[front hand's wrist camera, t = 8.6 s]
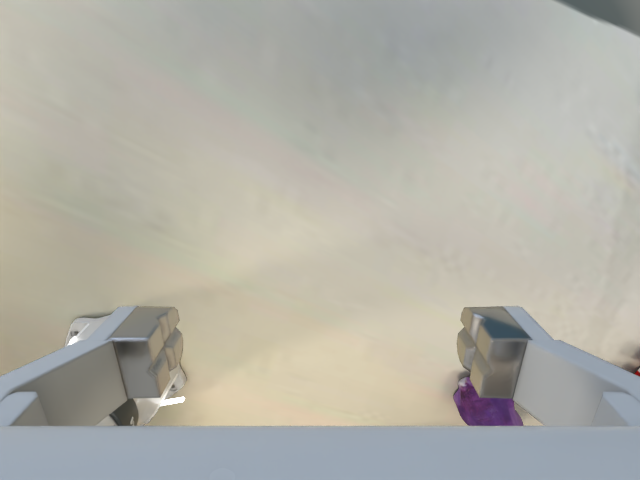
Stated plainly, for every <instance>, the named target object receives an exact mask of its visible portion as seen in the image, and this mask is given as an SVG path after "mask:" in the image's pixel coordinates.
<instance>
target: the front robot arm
mask: <svg viewBox="0 0 640 480" xmlns="http://www.w3.org/2000/svg"><path fill="white" fill-rule="evenodd" d="M178 322H179V315H178V310H177V309H176V308H175V307H155V306H122V307H118V308H117V309H116V310H115V311H114V312H113V313H112V314H111V315H108V316H104V317H101V318H77V319H75V320H74V322H73V323H72V324H71V326H70V329H69V332H68V335H67V339H66V342H65V345H64V348H62V349H60V350H57V351H55V352H53V353H51V354H49V355H46V356H44V357H42V358H40V359H38V360H35V361H33V362H31V363H29V364H27V365H24V366H22V367H20V368H18V369H16V370H13V371H11V372H9V373H7V374H5V375H2V376H0V480H640V376H637V375H635V374H633V373H631V372H629V371H626V370H624V369H622V368H620V367H618V366H615V365H613V364H611V363H609V362H607V361H605V360H602V359H600V358H598V357H596V356H594V355H591V354H589V353H587V352H585V351H583V350H580V349H578V348H576V347H574V346H572V345H569V344H567V343H565V342H563V341H561V340H554V339H553V338H552V337H551V336H550V335H549V334H548V333H547V332H546V331H545V330H544V329H543V328H542V327H541V326H540V325H539V324H538V323H537V322H536V321H535V320H534V319H533V318H532V317H531V316H530V315H529V314H528V313H527V312H526V311H525V310H524V309H523V308H522V307H519V306H500V307H465V308H464V309H463V311H462V314H461V322H462V324H463V325H464V328H463V329H462V330H461V331H460V332H459V333H458V338H457V351H458V356H459V359H460V362H461V364H462V366H463V367H464V368H465V369H467V370H468V371H470V372H471V373H470V381H471V383H472V384H473V386H474V388H475V390H476V392H477V394H478V395H479V397H480V398H508V399H513V401H514V402H516V403H517V404H518V405H519V406H521V407H522V408H523V409H524V410H526V411H527V412H528V413H529V414H531V415H532V416H533V417H534V418H536V419H537V420H538V421H539V422H541V423H542V424H543V425H544V426H144V425H145V424H148V423H149V422H150V420H151V419H152V418H153V417H154V415H155V414H156V412H157V411H158V409H159V407H160V406H162V405H168V404H174V403H179V402H183V401H184V399H185V398H184V397H180V398H174V399H169V400H166V399H168V398H169V397H170V396H172V395H173V394H174V393H176V392H177V391H178V390H180V389H181V388H182V387H183V386H184V385H185V383H186V381H187V379H186V376H185V374H184V372H183V370H182V369H181V367H180V363H179V362H180V360H181V356H182V351H183V337H182V333H181V332H180V331H179V330H178V329H177V328H176V325H177V324H178Z"/></svg>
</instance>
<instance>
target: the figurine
mask: <svg viewBox="0 0 640 480" xmlns="http://www.w3.org/2000/svg"><path fill="white" fill-rule="evenodd" d="M458 386H459V388H458V390H457V392H456V393H455V394H454V397H453V398H454V401H455V403H456V405H457V408H458V411H459V413H460V416H461V417H462V419H463V420H464V421H465V423H466V424H467V425H469V426H523V422H522V420H521V418H520V416H519V414H518V413H517V412H516V410H515V409H514V401H513V399H508V398H480V397H479V395H478V394H477V392H476V390H475V388H474V386H473V384H472V383H471V381H470V377H464V378H462V379H461V380H460V381H459V382H458Z"/></svg>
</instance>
